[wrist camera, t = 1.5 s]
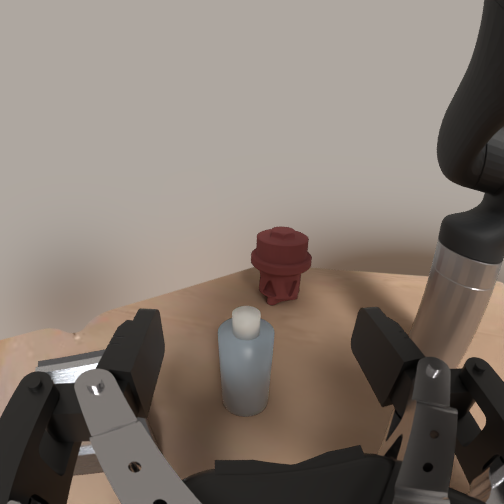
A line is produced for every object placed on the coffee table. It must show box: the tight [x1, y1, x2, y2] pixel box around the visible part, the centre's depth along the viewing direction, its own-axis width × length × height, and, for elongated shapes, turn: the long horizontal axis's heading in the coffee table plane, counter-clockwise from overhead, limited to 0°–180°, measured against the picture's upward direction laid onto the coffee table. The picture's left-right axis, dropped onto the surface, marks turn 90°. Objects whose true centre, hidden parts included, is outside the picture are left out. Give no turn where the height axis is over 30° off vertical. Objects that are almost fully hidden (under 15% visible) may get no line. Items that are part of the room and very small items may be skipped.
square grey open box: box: [35, 349, 160, 475], centre depth 21 cm, size 12×14×6 cm
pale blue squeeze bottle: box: [218, 306, 274, 417], centre depth 25 cm, size 5×5×12 cm
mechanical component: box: [251, 227, 312, 305], centre depth 46 cm, size 12×10×10 cm
